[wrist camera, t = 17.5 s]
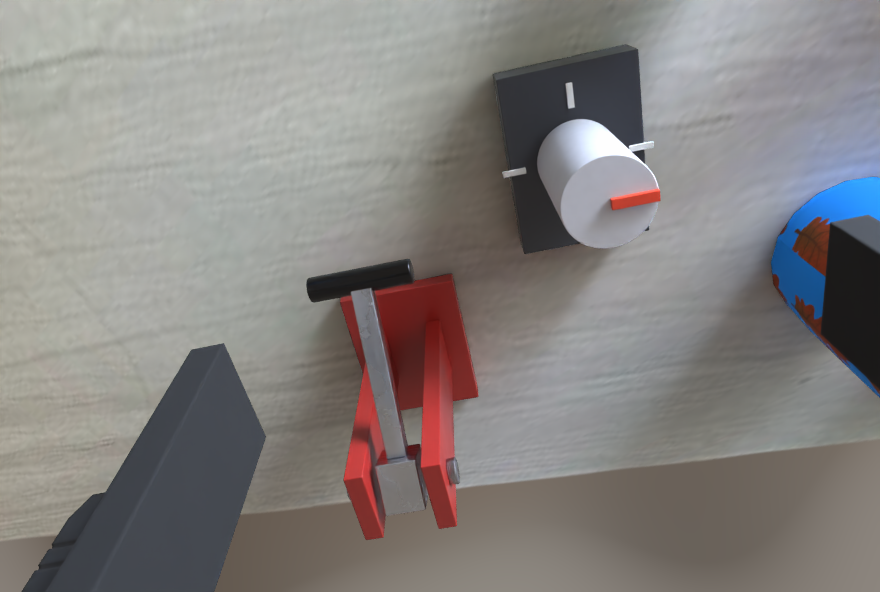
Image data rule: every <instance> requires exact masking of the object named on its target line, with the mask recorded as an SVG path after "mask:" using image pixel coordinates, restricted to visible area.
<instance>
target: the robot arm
mask: <svg viewBox="0 0 880 592" xmlns="http://www.w3.org/2000/svg"><path fill="white" fill-rule="evenodd" d="M821 335H822V336H823V337H824V338H825V339H826V340H827V341H829V342H830V343H831V344H832V345H833V346H834V347H835V348H836V349H837V350H838V351H839V352H840V353H841V354H842V355H843V356H844V357H846V358H847V359H848V360H849V361H850V362H851V363H852V364H853V365H854V366H855V367H856V368H857V369H858V370H859V371H860V372H861V373H863V374H864V375H865V376H866V377H867V378H868V379H869V380H870V381H871V382H872V383H873V384H874V385H875V386H876V387H877V388H878V389H880V221H879V220H877V219H875V218H873V217H872V216H870V215H864V216H859V217H854V218H849V219H844V220H839V221H834V222H830V229H829V241H828V252H827V264H826V276H825V287H824V299H823V311H822V322H821ZM265 438H266V436H265V434H264V431H263V429H262V427H261V425H260V423H259V420H258V418H257V416H256V414H255V411H254V409H253V407H252V405H251V402H250V400H249V398H248V396H247V394H246V391H245V389H244V387H243V385H242V382H241V380H240V378H239V376H238V374H237V371H236V369H235V367H234V365H233V362H232V360H231V358H230V356H229V353H228V351H227V349H226V347H225V345H224V343H223V344H218V345H213V346H208V347H203V348H198V349H193V350H191V351H190V353H189V355H188V356H187V358H186V360H185V361H184V363H183V365H182V366H181V368H180V370H179V371H178V373H177V375H176V376H175V378H174V380H173V381H172V383H171V385H170V386H169V388H168V390H167V391H166V393H165V394H164V396H163V398H162V399H161V401H160V403H159V404H158V406H157V408H156V409H155V411H154V413H153V414H152V416H151V418H150V419H149V421H148V423H147V424H146V426H145V428H144V429H143V431H142V433H141V434H140V436H139V438H138V439H137V441H136V443H135V444H134V446H133V448H132V449H131V451H130V453H129V454H128V456H127V458H126V459H125V461H124V463H123V464H122V466H121V468H120V469H119V471H118V473H117V474H116V476H115V478H114V479H113V481H112V483H111V484H110V486H109V488H108V489H107V491H106V492H105V493H100V494H94V495H92V496H91V497H90V498H89V499H88V500H87V501H86V502H85V503H84V504H83V505H82V506H81V507H80V508H79V509H78V510H77V511H76V512H75V513H74V514H73V515H72V516H71V517H69V518H68V520H67V521H66V523H65V525H64V526H63V528H62V529H61V531H60V532H59V534H58V535H57V537H56V539H55V540H54V542H53V543H52V549H49V550H48V551H47V553H46V554H45V556H44V557H43V559H42V560H41V562H40V564H39V565H38V566H39V570H37V571H34V573H33V575H32V576H31V578H30V579H29V581H28V582H27V584H26V585H25V587H24V589H23V590H22V592H214V591H215V588H216V585H217V582H218V579H219V576H220V573H221V570H222V567H223V564H224V561H225V558H226V555H227V552H228V549H229V546H230V543H231V540H232V537H233V534H234V531H235V528H236V525H237V522H238V519H239V516H240V513H241V510H242V507H243V504H244V501H245V498H246V495H247V492H248V489H249V486H250V483H251V480H252V477H253V474H254V471H255V468H256V465H257V462H258V459H259V456H260V453H261V450H262V447H263V444H264V441H265Z"/></svg>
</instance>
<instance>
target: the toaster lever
mask: <svg viewBox="0 0 880 592" xmlns="http://www.w3.org/2000/svg"><path fill="white" fill-rule="evenodd" d="M414 280H415V279H414V271H413V267H412V263H411V261H410V259H404V260H399V261H393V262H388V263H383V264H378V265H373V266H368V267H363V268H358V269H352V270H347V271H342V272H337V273H332V274H327V275H322V276H317V277H311V278H308V279H307V284H306V287H307V293H308V296H309V298H310V300H311V301H312V302H320V301H325V300H330V299H335V298H340V297H346V296H352V301H353V305H354V310H355V314H356V319H357V324H358V328H359V333H360V338H361V342H362V347H363V351H364V356H365V361H366V365H367V370H368V375H369V379H370V384H371V388H372V393H373V398H374V402H375V407H376V412H377V416H378V421H379V425H380V430H381V435H382V439H383V444H384V449H385V450H382V452H381V454H380V456H379V459H378V461H377V463H376V465H375V470H376V475H377V479H378V484H379V489H380V493H381V498H382V502H383V507H384V511H385V515H386V516H389V515H395V514H402V513H408V512H414V511H421V510H425V509H426V504H427V500H428V495H429V494H428V491H427V488H426V484H425V481H424V478H423V474H422V471H421V447H420V444H415V445H409V446H408V444H407V439H406V434H405V430H404V425H403V420H402V416H401V411H400V406H399V401H398V397H397V392H396V387H395V382H394V378H393V373H392V368H391V364H390V359H389V354H388V349H387V345H386V340H385V335H384V330H383V326H382V321H381V316H380V312H379V307H378V302H377V297H376V293H375V291H377V290H382V289H388V288H393V287H398V286H403V285H408V284H413V283H414Z"/></svg>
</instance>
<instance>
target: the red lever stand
mask: <svg viewBox="0 0 880 592" xmlns="http://www.w3.org/2000/svg"><path fill="white" fill-rule="evenodd" d="M375 293H376V297H377V302H378V307H379V312H380V316H381V321H382V326H383V330H384V335H385V340H386V345H387V349H388V354H389V359H390V364H391V368H392V373H393V378H394V382H395V387H396V392H397V397H398V401H399V406H400V410H406V409H412V408H417V407H423V415H422V442H421V471H422V474H423V478H424V481H425V484H426V488H427V491H428V494H429V498H430V501H431V505H432V508H433V511H434V515H435V518H436V521H437V525H438V528H439V529H442V528H448V527H455V526H457V514H456V484H459V482H460V476H459V469H458V464H457V460H456V458H455V453H454V423H453V401H458V400H464V399H470V398H476V397H478V387H477V382H476V378H475V373H474V369H473V364H472V360H471V355H470V351H469V346H468V342H467V337H466V333H465V328H464V324H463V320H462V315H461V311H460V306H459V302H458V297H457V293H456V288H455V284H454V279H453V275H452V274H447V275H442V276H437V277H432V278H426V279H421V280H416V281H414V283H413V284H408V285H403V286H398V287H393V288H388V289H382V290H377V291H375ZM340 304H341V307H342V311H343V314H344V317H345V320H346V323H347V326H348V329H349V332H350V335H351V338H352V342H353V345H354V348H355V351H356V354H357V357H358V360H359V363H360V366H361V369H362V373H363V378H362V384H361V389H360V394H359V400H358V405H357V410H356V416H355V421H354V426H353V432H352V437H351V443H350V448H349V453H348V459H347V464H346V469H345V475H344V483H345V486H346V488H347V494H348V497H349V499H350V500H351V502H352V504H353V507H354V510H355V512H356V515H357V518H358V520H359V523H360V526H361V528H362V531H363V534H364V536H365V539H366V540H370V539H376V538H383V537H384V526H385V516H386V515H385V511H384V507H383V502H382V498H381V493H380V489H379V484H378V479H377V475H376V470H375V465H376V463H377V461H378V459H379V456H380V454H381V452H382V450H385V449H384V444H383V439H382V435H381V430H380V425H379V421H378V416H377V412H376V407H375V402H374V398H373V393H372V388H371V384H370V379H369V375H368V370H367V365H366V361H365V356H364V351H363V347H362V342H361V338H360V333H359V328H358V324H357V319H356V314H355V310H354V305H353V301H352V296H346V297H341V300H340Z"/></svg>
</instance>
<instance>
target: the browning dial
mask: <svg viewBox="0 0 880 592" xmlns="http://www.w3.org/2000/svg"><path fill="white" fill-rule="evenodd" d="M537 168H538V173H539V176H540V178H541V180H542V182H543V184H544V186H545V188H546V190H547V192H548V194H549V196H550V198H551V200H552V203H553V205H554V207H555V209H556V211H557V213H558V215H559V217H560V219H561V221H562V223H563V225H564V227H565V228H566V230H567V231H568V233H569V234H570V235H571V236H572V237H573V238H574V239H575V240H577V241H578V242H580V243H582V244H583V245H586V246H589V247H593V248H599V249H608V248H615V247H619V246H622V245H624V244H627V243H629V242H631V241H632V240H634V239H635V238H637V237H638V236H639V235H640V234H642V233H643V232H644V231H645V230H646V229H647V227H648V226H649V225H650V223H651V222H652V220H653V218H654V216H655V214H656V211H657V208H658V203H659V201H660V190H659V188H658V184H657V181H656V179H655V176H654V175H653V173H652V172H651V170H650V169H649V168H648V167H647V166H646V165H645V164H644V163H643V162H642V161H641V160H640V159H639V158H638V157H636V156H635V155H634V154H633V153H632V152H631V151H630V150H629V149H628V148H627V147H626V146H625V145H624V144H623V143H622V142H620V141H619V140H618V139H617V138H616V137H615V136H614V135H613V134H612V133H611V132H610V131H609V130H608V129H606V128H605V127H604V126H603V125H601V124H599V123H597V122H595V121H592V120H587V119H576V120H571V121H567V122H565V123H563V124H561V125H559V126H557V127H556V128H555V129H553V130H552V131H551V132H550V133H549V134H548V135H547V137H546V138H545V139H544V141H543V143H542V145H541V147H540V149H539V152H538V157H537Z"/></svg>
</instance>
